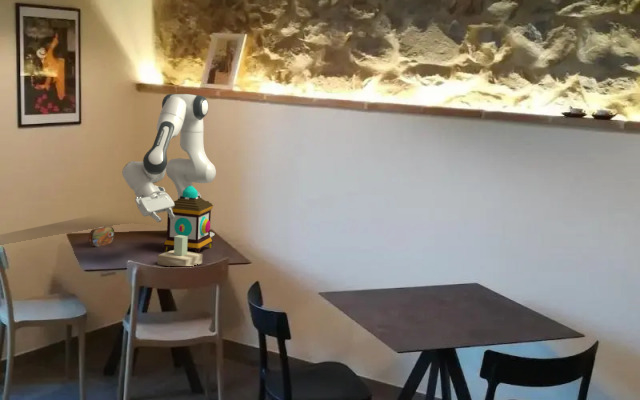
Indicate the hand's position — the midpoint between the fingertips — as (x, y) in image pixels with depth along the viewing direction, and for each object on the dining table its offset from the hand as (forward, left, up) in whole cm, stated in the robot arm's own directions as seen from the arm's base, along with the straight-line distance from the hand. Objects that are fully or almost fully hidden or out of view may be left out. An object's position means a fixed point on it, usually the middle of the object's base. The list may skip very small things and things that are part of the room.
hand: (166, 219), depth 333 cm
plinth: (0, +8, -18) cm, 20 cm away
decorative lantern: (-23, -3, -19) cm, 30 cm away
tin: (-6, -40, -19) cm, 44 cm away
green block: (0, +8, -14) cm, 16 cm away
